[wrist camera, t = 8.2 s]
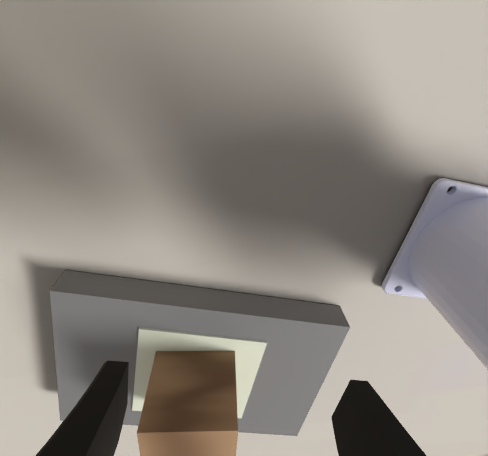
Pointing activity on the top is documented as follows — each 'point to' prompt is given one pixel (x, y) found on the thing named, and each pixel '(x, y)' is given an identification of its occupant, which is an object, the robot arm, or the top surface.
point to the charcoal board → (195, 342)
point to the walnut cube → (190, 405)
